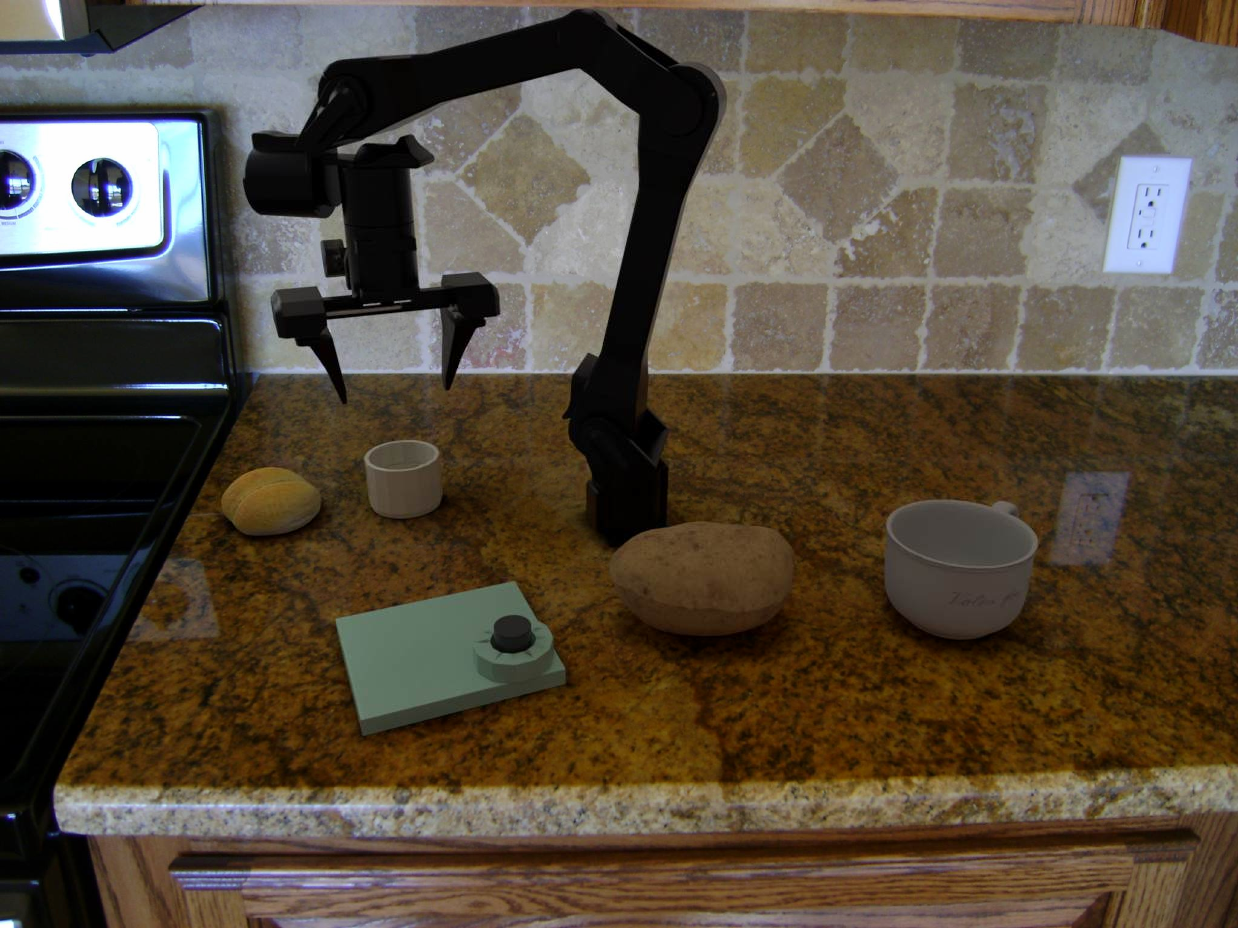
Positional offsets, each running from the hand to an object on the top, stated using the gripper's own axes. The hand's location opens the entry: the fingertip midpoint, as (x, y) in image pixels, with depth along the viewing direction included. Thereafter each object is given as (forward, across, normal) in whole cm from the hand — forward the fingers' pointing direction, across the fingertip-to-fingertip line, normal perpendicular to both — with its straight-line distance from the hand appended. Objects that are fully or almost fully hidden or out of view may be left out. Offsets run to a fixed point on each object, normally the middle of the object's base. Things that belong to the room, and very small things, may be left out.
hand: (396, 395), depth 84 cm
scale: (+11, +2, +25) cm, 27 cm away
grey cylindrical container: (+11, 0, 0) cm, 11 cm away
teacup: (+11, -37, +34) cm, 51 cm away
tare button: (+8, -2, +28) cm, 30 cm away
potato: (+11, -17, +28) cm, 35 cm away
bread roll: (+11, +12, -2) cm, 16 cm away
